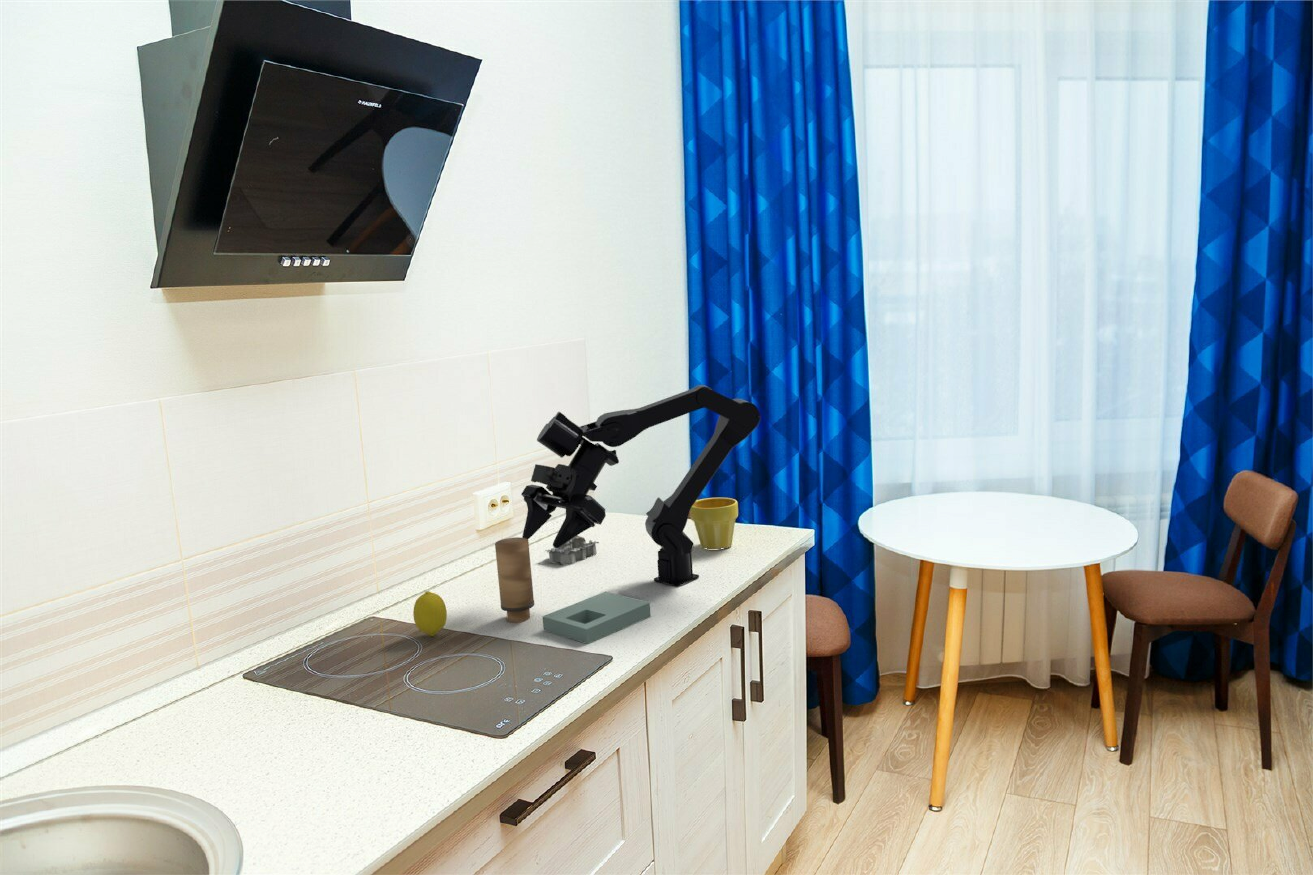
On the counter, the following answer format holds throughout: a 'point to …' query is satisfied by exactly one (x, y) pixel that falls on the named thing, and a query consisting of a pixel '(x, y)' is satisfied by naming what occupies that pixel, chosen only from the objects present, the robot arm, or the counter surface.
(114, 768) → the counter surface
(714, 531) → the plant pot
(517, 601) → the peg
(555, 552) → the egg carton
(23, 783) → the counter surface
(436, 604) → the lemon
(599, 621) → the board
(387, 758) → the counter surface
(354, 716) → the counter surface
